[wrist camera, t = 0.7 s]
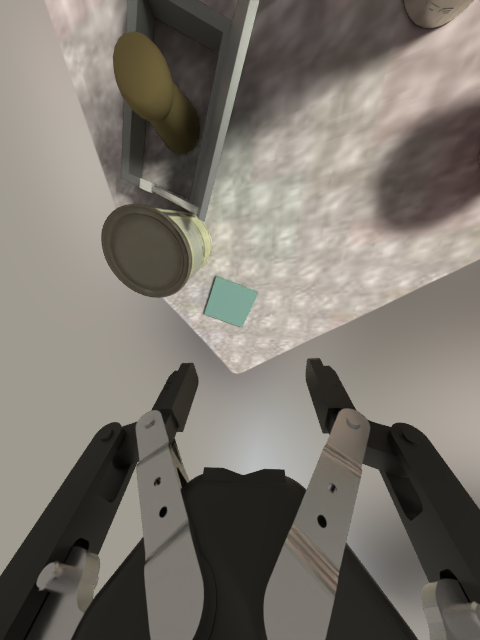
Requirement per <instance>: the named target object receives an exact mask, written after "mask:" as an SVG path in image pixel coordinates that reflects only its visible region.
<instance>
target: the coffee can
mask: <svg viewBox="0 0 480 640" xmlns="http://www.w3.org/2000/svg"><path fill="white" fill-rule="evenodd" d="M102 247H103V252H104V256H105V258H106V261H107V263H108V265H109V266H110V268H111V270H112V271H113V272H114V274H115V275H116V276H117V277H118V278H119V280H120V281H122V282H123V283H124V284H125V285H126V286H127V287H129V288H130V289H132V290H133V291H135V292H137V293H140V294H142V295H145V296H149V297H158V298H160V297H167V296H170V295H172V294H175V293H176V292H178V291H179V290H180V289H181V288H182V287H183V286H184V285H185V284H186V282H187V281H188V280H189V279H190V278H191V277H192V276H193V275H194V274H195V273H196V272H197V271H198V270H199V269H200V268H201V267H203V266H204V265H205V264H206V263H207V261H208V260H209V258H210V255H211V252H212V239H211V235H210V233H209V230H208V228H207V226H206V225H205V224H204V223H203V221H202V220H199V219H198V217H197V216H196V215H194V214H192V213H189V212H186V211H174V210H166V209H160V208H153V207H150V206H146V205H140V204H129V205H124V206H121V207H119V208H117V209H116V210H114V211H113V212H112V213H111V214H110V215H109V216H108V217H107V219H106V221H105V223H104V225H103V229H102Z"/></svg>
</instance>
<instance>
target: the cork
mask: <svg viewBox="0 0 480 640" xmlns="http://www.w3.org/2000/svg"><path fill="white" fill-rule="evenodd" d="M113 65H114V74H115V78H116V82H117V85H118V87H119V90H120V92H121V94H122V96H123V98H124V99H125V101H126V102H127V104H128V105H129V106H130V108H131V109H132V110H133V111H134V112H135V113H136V114H138V115H139V116H140V117H141V118H143V119H146V120H148V121H150V123H151V124H152V126H153V127H154V128H155V130H156V131H157V133H158V134H159V136H160V137H161V138H162V140H163V141H164V143H165V144H166V145H167V147H168V148H169V149H171V150H172V151H173V152H175V153H178V154H187V153H188V152H190V151H192V150H193V148H194V147H195V146H196V144H197V142H198V139H199V134H200V124H199V118H198V115H197V112H196V110H195V108H194V107H193V105H192V103H191V102H190V101H189V100H188V98H187V97H186V96H185V95H184V94H183V93H182V91H181V90H180V89H179V88H178V87H177V85H176V84H175V83H174V82H173V81H172V77H171V73H170V70H169V68H168V65H167V62H166V60H165V58H164V56H163V55H162V53H161V52H160V50H159V49H158V47H157V46H156V45H155V44H154V43H153V42H152V41H151V40H150V39H149V38H148V37H147V36H145V35H144V34H141V33H138V32H128V33H125V34H124V35H122V36H121V37H120V38H119V39H118V41H117V43H116V45H115V49H114V55H113Z"/></svg>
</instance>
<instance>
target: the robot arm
mask: <svg viewBox="0 0 480 640" xmlns="http://www.w3.org/2000/svg"><path fill="white" fill-rule="evenodd" d="M473 1H474V0H404V3H405V8H406V11H407V13H408V15H409V17H410V18H411V20H412V21H413V22H414V23H415V24H416V25H419V26H421V27H423V28H435V27H438V26H442V25H444V24H446V23H447V22H449V21H451V20H453V19H454V18H455V17H456V16H458V15H459V14H460V13H461V12H463V11H464V10H465V9H466V8H467V7H468V6H469V5H470V4H471V3H472V2H473ZM306 382H307V386H308V389H309V392H310V395H311V398H312V401H313V405H314V408H315V410H316V414H317V417H318V420H319V423H320V426H321V429H322V432H323V433H329V435H330V436H329V438H328V441H327V443H326V445H325V446H324V448H323V451H322V453H321V456H320V458H319V461H318V463H317V466H316V468H315V470H314V473H313V475H312V478H311V480H310V483H309V485H308V488H307V490H306V489H305V488H304V487H303V486H302V485H300V484H299V483H298V482H296V481H295V480H293V479H291V478H289V477H287V476H285V471H284V470H280V469H263V470H259V471H256V472H253V473H249V474H246V475H240V474H238V473H235V472H233V471H230V470H227V469H225V468H208V467H205V468H204V472H203V474H201V475H199V476H197V477H195V478H194V479H192V480H191V481H189V478H188V476H187V474H186V471H185V469H184V466H183V463H182V459H181V456H180V453H179V450H178V447H177V444H176V441H175V435H176V432H183V430H184V427H185V424H186V420H187V418H188V415H189V411H190V408H191V405H192V402H193V399H194V396H195V393H196V390H197V387H198V376H197V373H196V369H195V366H194V364H193V363H182V364H181V366H180V368H179V370H178V371H174V372H173V373H172V374H171V375H170V376H169V378H168V380H167V382H166V384H165V385H164V388H163V390H162V391H161V393H160V395H159V397H158V399H157V401H156V403H155V404H154V406H153V408H152V410H151V411H149V412H147V413H146V414H144V415H143V416H142V417H141V418H140V419H139V421H138V422H135V423H132V424H129V425H126V426H123V427H122V426H121V425H120V424H119V423H117V422H113V423H110V424H107V425H106V426H104V427H103V428H102V429H100V430H99V431H98V432H97V433H96V435H95V436H94V438H93V439H92V441H91V442H90V444H89V445H88V447H87V448H86V450H85V451H84V453H83V454H82V456H81V457H80V458H79V460H78V461H77V463H76V464H75V466H74V467H73V469H72V470H71V472H70V473H69V475H68V476H67V478H66V479H65V481H64V482H63V484H62V485H61V487H60V489H59V490H58V491H57V493H56V494H55V496H54V497H53V499H52V500H51V502H50V503H49V505H48V506H47V508H46V509H45V511H44V512H43V513H42V515H41V516H40V518H39V519H38V521H37V522H36V524H35V525H34V527H33V528H32V530H31V531H30V533H29V534H28V536H27V537H26V539H25V540H24V542H23V543H22V545H21V546H20V548H19V549H18V551H17V552H16V554H15V555H14V557H13V558H12V560H11V561H10V563H9V564H8V566H7V567H6V569H5V570H4V571H3V573H2V574H1V576H0V640H418V639H417V637H416V636H415V634H414V633H413V631H412V630H411V629H410V627H409V626H408V625H407V623H406V622H405V621H404V619H403V618H402V617H401V615H400V614H399V613H398V611H397V610H396V608H395V607H394V606H393V604H392V603H391V602H390V601H389V599H388V598H387V596H386V595H385V594H384V593H383V591H382V590H381V588H380V587H379V586H378V584H377V583H376V582H375V580H374V579H373V578H372V576H371V575H370V574H369V572H368V571H367V570H366V568H365V567H364V566H363V564H362V563H361V562H360V560H359V559H358V557H357V556H356V555H355V553H354V552H353V551H352V549H351V548H350V547H349V546H348V544H347V543H346V540H347V536H348V531H349V527H350V523H351V518H352V514H353V509H354V505H355V500H356V497H357V492H358V487H359V483H360V479H361V474H362V470H361V467H362V464H365V465H368V466H370V467H373V468H376V469H379V471H380V473H381V475H382V477H383V480H384V482H385V484H386V487H387V489H388V491H389V493H390V496H391V497H392V500H393V502H394V505H395V507H396V509H397V511H398V513H399V516H400V518H401V520H402V522H403V525H404V527H405V529H406V531H407V534H408V536H409V538H410V540H411V543H412V545H413V547H414V549H415V551H416V554H417V556H418V558H419V560H420V563H421V565H422V567H423V570H424V572H425V574H426V576H427V579H428V581H429V583H428V584H426V585H425V586H424V588H423V590H422V604H423V609H424V612H425V615H426V619H427V622H428V626H429V632H430V640H480V509H479V508H478V507H477V505H476V504H475V503H474V501H473V500H472V498H471V497H470V496H469V494H468V493H467V492H466V490H465V489H464V487H463V486H462V485H461V483H460V482H459V481H458V479H457V478H456V476H455V475H454V474H453V472H452V471H451V470H450V468H449V467H448V465H447V464H446V463H445V461H444V460H443V458H442V457H441V456H440V454H439V453H438V452H437V450H436V449H435V448H434V446H433V445H432V443H431V442H430V441H429V440H428V438H427V437H426V436H425V435H424V434H423V433H422V432H421V431H419V430H418V429H417V428H414V427H413V426H411V425H409V424H406V423H395V424H393V425H392V427H389V426H385V425H381V424H378V423H375V422H372V421H369V420H367V419H366V418H365V416H364V415H362V414H361V413H360V412H358V411H357V410H356V409H355V407H354V406H353V404H352V402H351V400H350V398H349V396H348V394H347V392H346V390H345V388H344V387H343V386H342V383H341V381H340V380H339V377H338V375H337V374H336V372H335V371H334V370H333V369H332V368H331V367H330V366H323V364H322V361H321V360H320V358H311V359H310V358H309V359H307V366H306ZM139 461H140V462H139ZM137 462H139V463H138V464H137ZM136 464H137V467H136ZM135 467H136V470H137V480H138V490H139V499H140V508H141V517H142V527H143V538H142V539H141V540H140V542H139V543H138V544H137V545H136V547H135V548H134V549H133V550H132V551H131V553H130V554H129V555H128V556H127V558H126V559H125V560H124V562H123V563H122V564H121V565H120V566H119V568H118V569H117V570H116V571H115V573H114V574H113V575H112V576H111V578H110V579H109V580H108V581H107V583H106V584H105V585H104V586H103V588H102V589H101V590H100V591H99V593H98V594H97V595H96V596H95V598H94V599H93V593H94V589H95V587H96V585H97V583H98V574H99V570H100V559H99V556H98V554H99V552H100V549H101V547H102V544H103V542H104V540H105V538H106V535H107V533H108V530H109V528H110V526H111V523H112V521H113V519H114V516H115V514H116V512H117V509H118V506H119V504H120V502H121V500H122V497H123V495H124V492H125V490H126V488H127V486H128V483H129V481H130V479H131V476H132V473H133V471H134V469H135Z"/></svg>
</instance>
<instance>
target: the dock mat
mask: <svg viewBox="0 0 480 640" xmlns="http://www.w3.org/2000/svg"><path fill="white" fill-rule="evenodd" d="M257 294H258V292H257V291H254V290H251V289H249V288H246V287H244V286H241V285H239V284H236V283H234V282H231V281H229V280H226V279H223V278H221V277H218V276H216V279H215V282H214V285H213V288H212V292H211V295H210V298H209V301H208V304H207V307H206V310H205V313H204V314H205V315H208V316H211V317H214V318H217V319H219V320H222V321H225V322H228V323H231V324H233V325H236V326H239V327H242V326H243V324H244V322H245V320H246V318H247V316H248V314H249V311H250V309H251V307H252V305H253V303H254V301H255V299H256V296H257Z"/></svg>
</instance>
